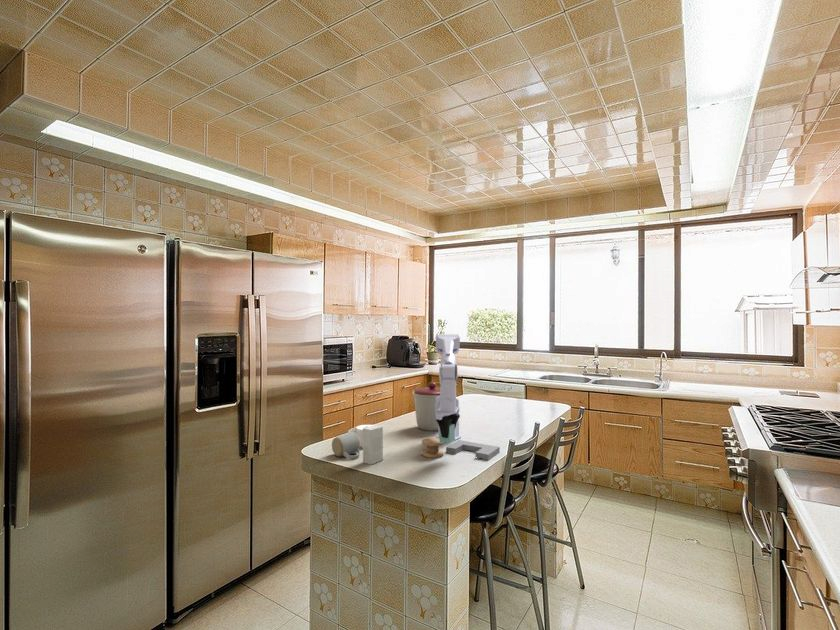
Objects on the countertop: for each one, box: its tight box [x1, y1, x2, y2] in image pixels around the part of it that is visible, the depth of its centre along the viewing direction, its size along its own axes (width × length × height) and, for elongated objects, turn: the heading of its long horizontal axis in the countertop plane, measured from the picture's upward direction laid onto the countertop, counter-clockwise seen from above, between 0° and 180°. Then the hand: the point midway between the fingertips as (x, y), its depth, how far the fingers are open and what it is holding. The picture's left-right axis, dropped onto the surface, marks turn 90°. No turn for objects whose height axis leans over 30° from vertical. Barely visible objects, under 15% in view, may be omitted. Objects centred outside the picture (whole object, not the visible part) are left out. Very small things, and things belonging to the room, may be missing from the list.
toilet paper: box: [347, 424, 374, 448], centre depth 171 cm, size 8×11×7 cm
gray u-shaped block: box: [445, 439, 501, 461], centre depth 163 cm, size 11×17×2 cm, turn 59°
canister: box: [412, 381, 440, 432], centre depth 198 cm, size 18×18×21 cm
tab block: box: [440, 424, 456, 445], centre depth 155 cm, size 4×4×6 cm
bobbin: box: [421, 437, 444, 459], centre depth 160 cm, size 8×8×5 cm
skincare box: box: [362, 424, 384, 465], centre depth 152 cm, size 6×4×12 cm
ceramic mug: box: [331, 432, 361, 460], centre depth 158 cm, size 11×8×8 cm
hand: (447, 436), depth 155 cm, fingers closed on tab block, 4 cm apart
